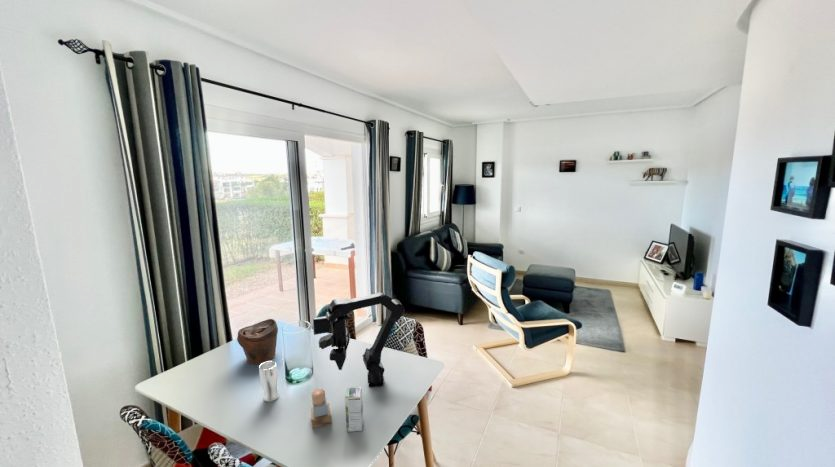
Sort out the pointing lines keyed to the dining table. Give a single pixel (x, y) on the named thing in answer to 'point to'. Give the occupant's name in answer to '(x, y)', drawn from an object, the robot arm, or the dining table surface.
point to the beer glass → (269, 380)
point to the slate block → (320, 410)
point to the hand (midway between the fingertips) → (341, 363)
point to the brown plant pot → (259, 341)
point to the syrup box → (354, 409)
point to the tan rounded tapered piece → (318, 397)
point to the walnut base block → (321, 418)
